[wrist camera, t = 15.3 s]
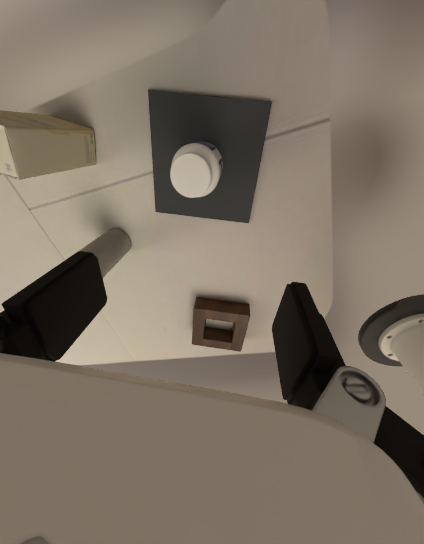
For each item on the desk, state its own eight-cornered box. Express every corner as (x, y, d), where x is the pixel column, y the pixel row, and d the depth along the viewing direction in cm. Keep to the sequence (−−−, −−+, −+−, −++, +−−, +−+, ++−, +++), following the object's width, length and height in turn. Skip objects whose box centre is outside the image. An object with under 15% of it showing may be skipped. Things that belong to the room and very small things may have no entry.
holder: (249, 304, 40) (250, 316, 37) (240, 339, 45) (240, 351, 43) (196, 296, 40) (193, 308, 38) (194, 332, 46) (191, 344, 43)
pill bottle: (175, 161, 27) (151, 170, 20) (206, 131, 25) (192, 128, 18) (200, 195, 29) (187, 214, 22) (231, 170, 27) (228, 182, 20)
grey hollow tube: (111, 222, 34) (68, 251, 25) (136, 239, 35) (102, 273, 26) (101, 242, 36) (58, 275, 27) (124, 257, 37) (90, 293, 28)
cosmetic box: (95, 129, 27) (7, 124, 17) (96, 166, 29) (21, 181, 19) (46, 114, 26) (-74, 99, 16) (52, 153, 29) (-50, 161, 19)
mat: (271, 102, 24) (271, 101, 23) (248, 221, 31) (248, 223, 31) (149, 90, 24) (148, 89, 24) (156, 210, 32) (155, 211, 31)
